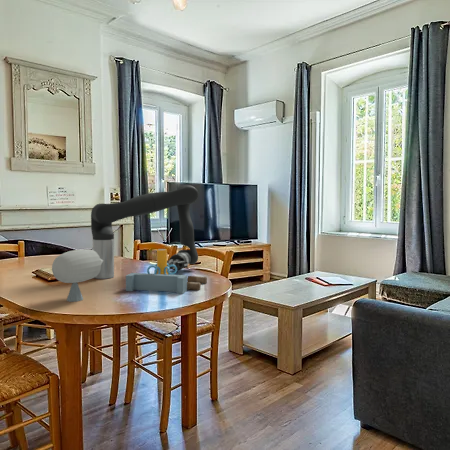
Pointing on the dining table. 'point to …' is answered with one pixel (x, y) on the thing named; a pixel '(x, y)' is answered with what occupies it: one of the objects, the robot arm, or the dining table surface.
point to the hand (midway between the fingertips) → (168, 267)
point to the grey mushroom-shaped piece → (76, 269)
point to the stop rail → (156, 282)
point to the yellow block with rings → (162, 263)
